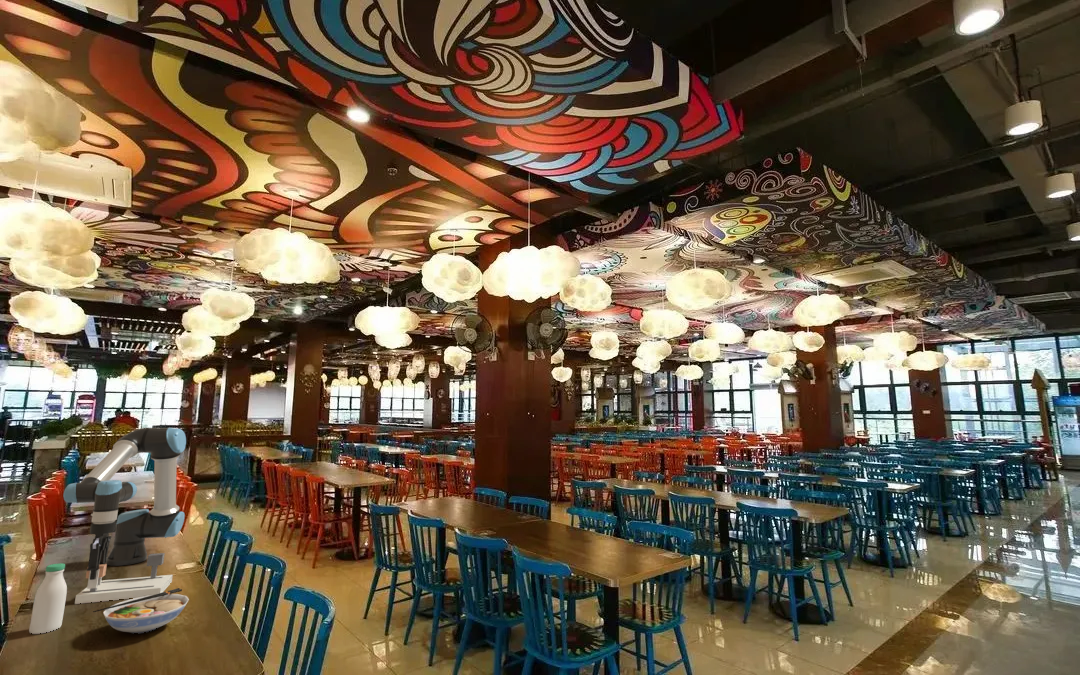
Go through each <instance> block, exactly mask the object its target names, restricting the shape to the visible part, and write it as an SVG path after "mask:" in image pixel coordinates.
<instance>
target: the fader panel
mask: <svg viewBox="0 0 1080 675" xmlns="http://www.w3.org/2000/svg"><path fill="white" fill-rule="evenodd" d="M150 577H151V575H150V576H141V577H128V578H127V577H126V578H117V579H116V578H115V579H105V580H101V585H98V586H97V590H96V591H92V592H90V589H87V587H85V588H84V589H83V590H81V591H80V592H79V593H77V594H76V595H75V600H74V605H79V604H80V603H81V604H89V603H90V604H91V602H92V603H101V602H100V601H102V602H110V601H109V600H113V601H120V600H119V599H124V600H130V599H129V598H138V597H144V596H149V595H155V594H159V593H162V592H166V589H167V588H168V587H169V586H170V585H171V584H170V583H172V582H173V574H166V575H165V574H164V575H156V577H155V578H150Z"/></svg>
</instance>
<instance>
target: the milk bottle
mask: <svg viewBox="0 0 1080 675" xmlns="http://www.w3.org/2000/svg"><path fill="white" fill-rule="evenodd" d="M65 569H66V564H65V563H63V562H61V563H53V564H49V565H47V566H46V568H45V572H44V573H45V575H44V576H45V577H44V578H43V581H42V582H41V584H40V585H39V586H38V588H37V590H36V592H35V596H34V599H33V606H32V612H31V617H30V623H29V628H28V632H29V634H31V633H32V635H41V634H46V632H47V633H50V631H51V632H54V631H57V630H59V629H60V628H61V627H62V624H63V621H64V620H63V618H64V612H65V607H66V606H65V605H66V599H67V592H68V587H67V583H66V580H65V577H64V571H65ZM58 628H59V629H58ZM56 629H57V630H56ZM53 630H54V631H53ZM40 633H41V634H40Z"/></svg>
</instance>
